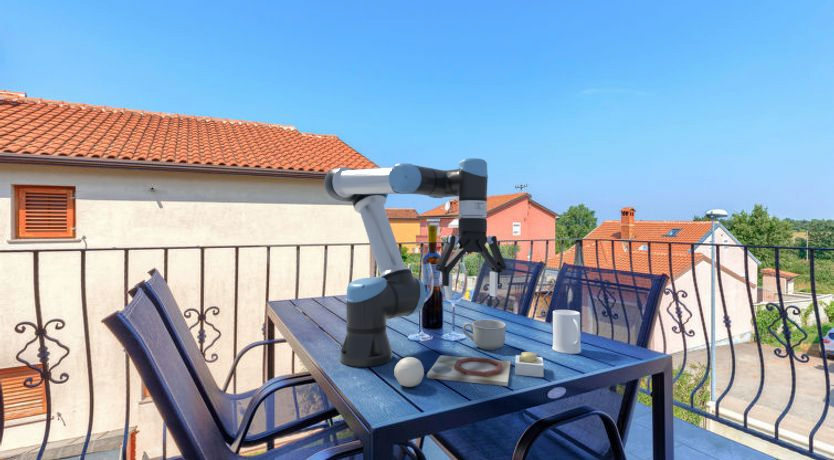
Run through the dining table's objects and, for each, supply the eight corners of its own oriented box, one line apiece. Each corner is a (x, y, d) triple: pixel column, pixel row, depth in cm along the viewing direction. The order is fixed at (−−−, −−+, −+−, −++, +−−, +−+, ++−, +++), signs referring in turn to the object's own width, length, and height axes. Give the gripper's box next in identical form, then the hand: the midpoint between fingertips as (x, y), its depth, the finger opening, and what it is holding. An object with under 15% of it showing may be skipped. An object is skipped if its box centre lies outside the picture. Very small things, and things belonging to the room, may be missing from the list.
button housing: (515, 374, 100) (515, 363, 100) (515, 365, 106) (515, 355, 106) (543, 377, 98) (543, 365, 98) (542, 368, 104) (542, 357, 105)
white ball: (400, 378, 97) (400, 352, 97) (427, 382, 94) (427, 355, 94) (388, 388, 91) (388, 360, 91) (417, 393, 88) (417, 363, 88)
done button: (521, 361, 101) (521, 355, 101) (521, 357, 105) (521, 351, 105) (537, 363, 100) (537, 356, 100) (536, 358, 104) (536, 352, 104)
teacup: (509, 345, 127) (509, 320, 127) (501, 354, 117) (501, 328, 117) (468, 340, 133) (468, 317, 133) (458, 348, 123) (458, 323, 123)
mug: (591, 357, 114) (591, 316, 114) (563, 357, 114) (563, 317, 114) (573, 346, 126) (573, 309, 126) (548, 346, 126) (547, 309, 126)
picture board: (426, 377, 97) (426, 370, 98) (440, 358, 113) (440, 352, 113) (507, 386, 92) (507, 378, 92) (510, 364, 107) (510, 358, 107)
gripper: (435, 215, 94) (434, 302, 94) (520, 218, 103) (519, 297, 103) (424, 216, 101) (422, 297, 101) (504, 219, 110) (502, 292, 110)
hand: (471, 297), depth 102 cm, fingers open, 13 cm apart
